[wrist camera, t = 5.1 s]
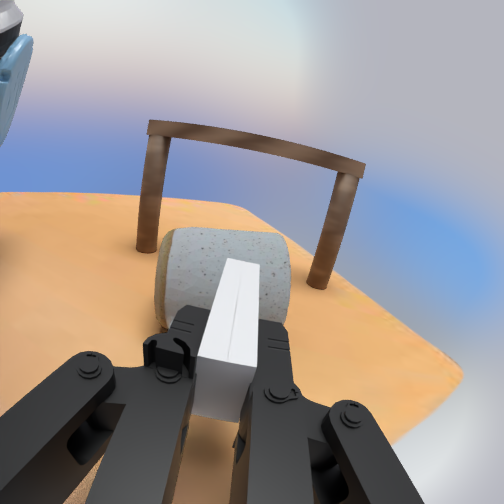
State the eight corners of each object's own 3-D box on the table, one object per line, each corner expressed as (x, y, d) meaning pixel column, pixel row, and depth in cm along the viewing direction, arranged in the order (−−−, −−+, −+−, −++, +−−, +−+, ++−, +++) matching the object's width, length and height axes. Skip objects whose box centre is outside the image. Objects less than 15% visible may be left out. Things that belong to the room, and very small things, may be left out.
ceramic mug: (164, 293, 22) (172, 205, 20) (256, 303, 24) (276, 221, 21) (144, 390, 13) (139, 271, 10) (284, 398, 15) (330, 293, 12)
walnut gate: (132, 250, 29) (148, 119, 24) (141, 243, 31) (157, 121, 26) (328, 290, 30) (366, 163, 25) (324, 281, 32) (358, 162, 27)
